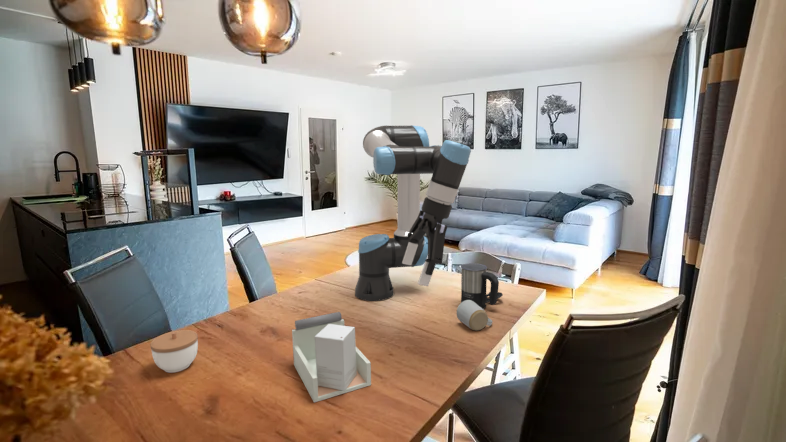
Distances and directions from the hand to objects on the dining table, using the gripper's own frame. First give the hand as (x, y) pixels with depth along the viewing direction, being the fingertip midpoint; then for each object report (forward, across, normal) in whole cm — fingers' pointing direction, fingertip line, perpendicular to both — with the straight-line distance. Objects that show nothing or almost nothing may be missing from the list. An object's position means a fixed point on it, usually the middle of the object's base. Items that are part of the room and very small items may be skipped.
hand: (414, 273), depth 107 cm
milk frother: (+15, +22, -41) cm, 48 cm away
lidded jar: (+40, +6, +53) cm, 67 cm away
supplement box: (+26, -13, +17) cm, 33 cm away
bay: (+27, -9, +17) cm, 33 cm away
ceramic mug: (+16, +6, -30) cm, 34 cm away
